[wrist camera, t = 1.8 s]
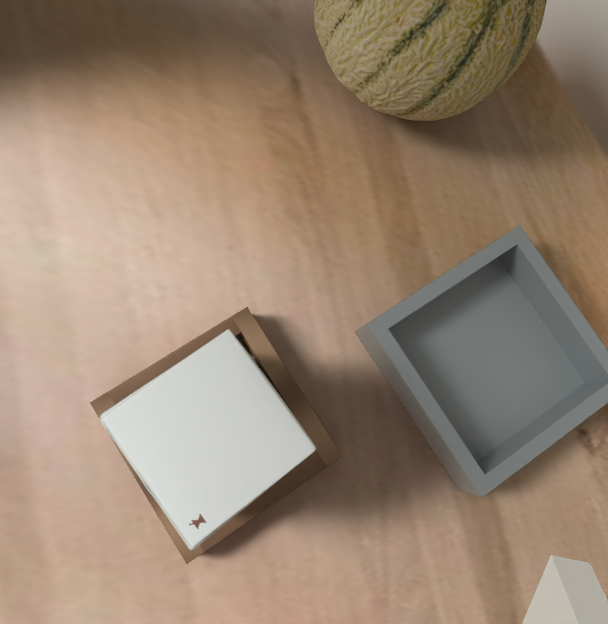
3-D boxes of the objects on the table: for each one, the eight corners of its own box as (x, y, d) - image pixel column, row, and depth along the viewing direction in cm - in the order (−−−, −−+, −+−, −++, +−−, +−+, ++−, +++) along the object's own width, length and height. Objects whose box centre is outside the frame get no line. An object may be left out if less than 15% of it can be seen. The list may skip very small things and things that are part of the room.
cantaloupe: (274, 14, 44) (293, -188, 29) (439, -34, 46) (533, -242, 31) (349, 183, 42) (409, 58, 27) (516, 123, 44) (653, -20, 30)
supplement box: (296, 440, 38) (323, 454, 26) (204, 509, 37) (187, 558, 24) (233, 352, 39) (231, 323, 26) (141, 416, 37) (92, 418, 25)
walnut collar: (99, 403, 37) (90, 402, 35) (246, 313, 39) (247, 306, 37) (190, 553, 36) (186, 564, 34) (335, 453, 38) (342, 455, 36)
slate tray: (355, 332, 40) (366, 323, 36) (495, 241, 42) (519, 225, 39) (458, 489, 39) (481, 497, 35) (596, 387, 41) (631, 384, 37)
